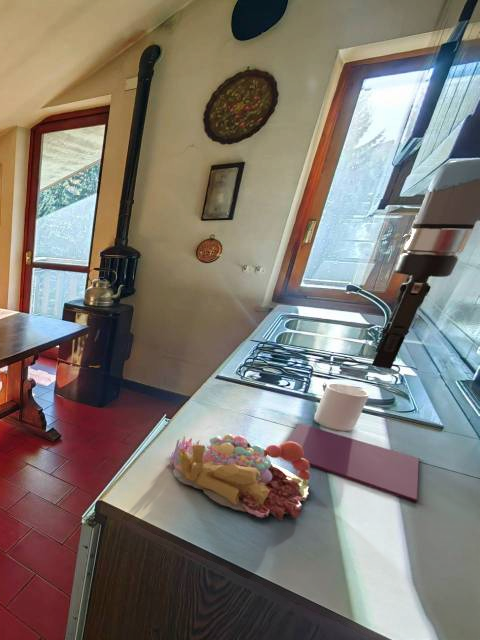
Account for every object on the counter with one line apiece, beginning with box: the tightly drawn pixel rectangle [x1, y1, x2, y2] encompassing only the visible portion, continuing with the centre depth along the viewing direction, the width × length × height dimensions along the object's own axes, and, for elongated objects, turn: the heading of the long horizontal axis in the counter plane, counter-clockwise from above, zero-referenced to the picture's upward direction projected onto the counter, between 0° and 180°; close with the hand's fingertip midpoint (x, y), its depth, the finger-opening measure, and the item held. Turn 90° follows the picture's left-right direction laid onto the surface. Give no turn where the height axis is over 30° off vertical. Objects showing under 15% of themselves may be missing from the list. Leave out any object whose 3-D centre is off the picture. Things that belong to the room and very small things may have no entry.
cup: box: [313, 383, 370, 432], centre depth 104 cm, size 8×12×10 cm
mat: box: [286, 423, 420, 503], centre depth 90 cm, size 22×22×1 cm
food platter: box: [169, 433, 312, 522], centre depth 79 cm, size 25×24×9 cm
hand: (382, 359), depth 82 cm, fingers open, 13 cm apart
